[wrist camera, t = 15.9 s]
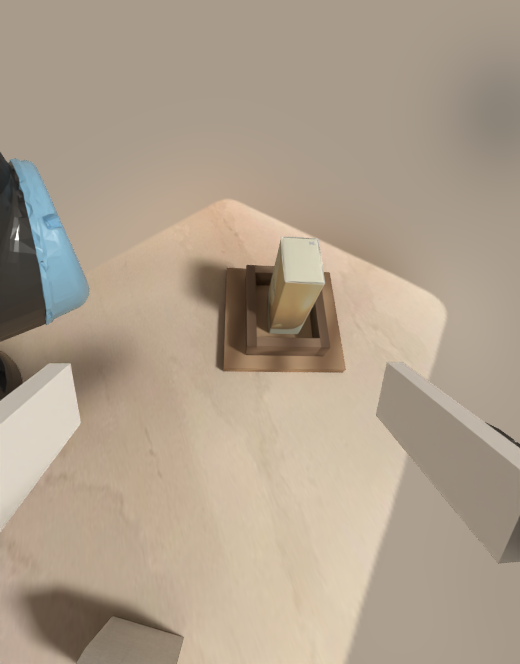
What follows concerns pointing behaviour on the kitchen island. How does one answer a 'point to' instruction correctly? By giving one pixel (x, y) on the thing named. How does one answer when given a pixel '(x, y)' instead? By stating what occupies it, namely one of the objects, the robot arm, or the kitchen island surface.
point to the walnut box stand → (277, 349)
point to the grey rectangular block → (131, 645)
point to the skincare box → (294, 284)
